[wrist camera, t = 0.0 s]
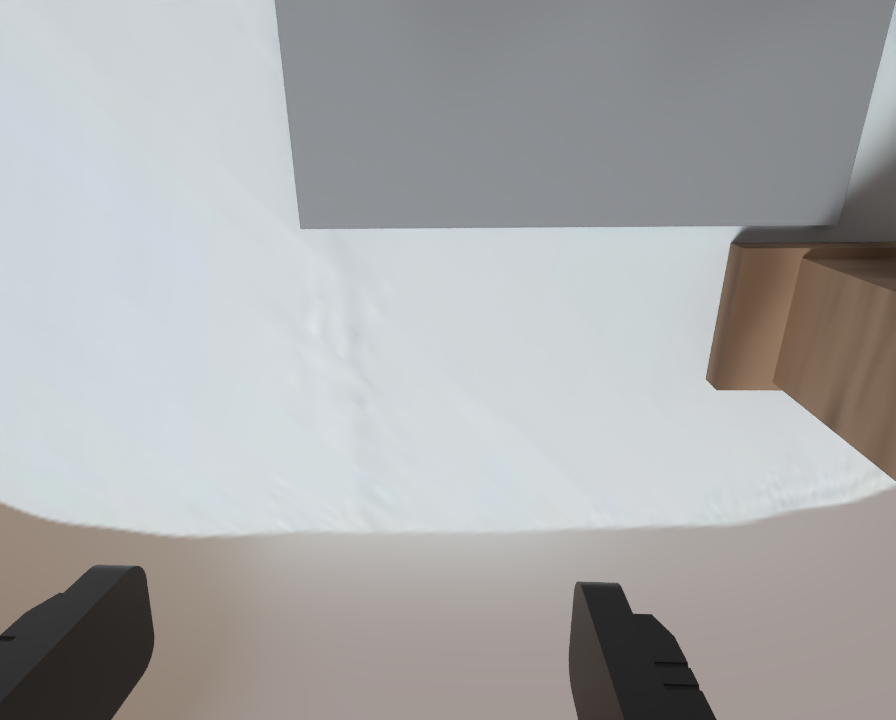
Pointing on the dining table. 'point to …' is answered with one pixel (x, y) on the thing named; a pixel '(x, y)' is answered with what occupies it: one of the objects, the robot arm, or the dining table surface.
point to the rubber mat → (576, 110)
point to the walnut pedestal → (815, 334)
